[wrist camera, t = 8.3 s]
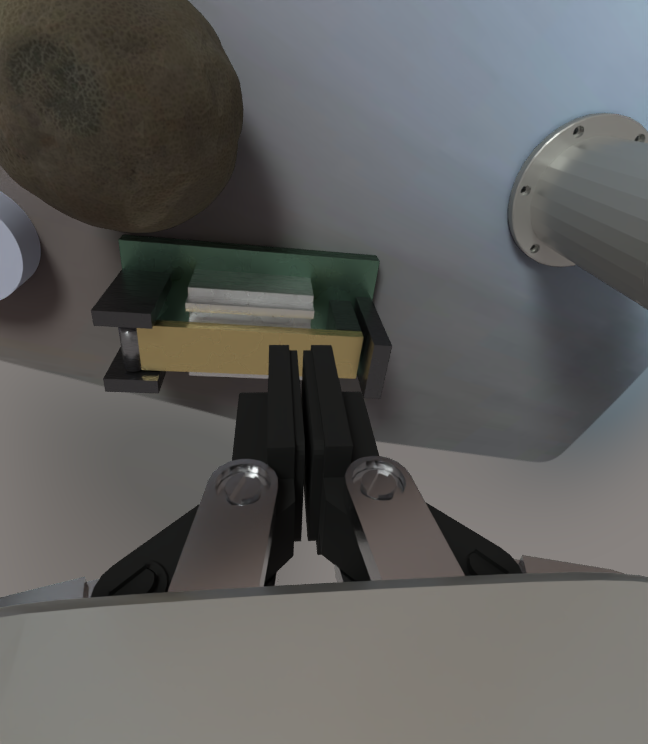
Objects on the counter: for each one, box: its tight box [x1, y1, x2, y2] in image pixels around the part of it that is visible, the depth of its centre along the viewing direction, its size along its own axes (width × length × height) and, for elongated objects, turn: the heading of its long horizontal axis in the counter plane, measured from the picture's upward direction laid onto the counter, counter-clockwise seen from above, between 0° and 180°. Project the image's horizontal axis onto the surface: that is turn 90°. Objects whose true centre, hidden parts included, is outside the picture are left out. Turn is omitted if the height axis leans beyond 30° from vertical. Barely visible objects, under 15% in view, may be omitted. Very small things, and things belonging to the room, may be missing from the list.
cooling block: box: [91, 235, 392, 399], centre depth 39 cm, size 22×12×10 cm, turn 83°
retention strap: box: [118, 320, 364, 379], centre depth 36 cm, size 19×4×2 cm, turn 83°
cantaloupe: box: [0, 0, 243, 233], centre depth 27 cm, size 14×14×15 cm
